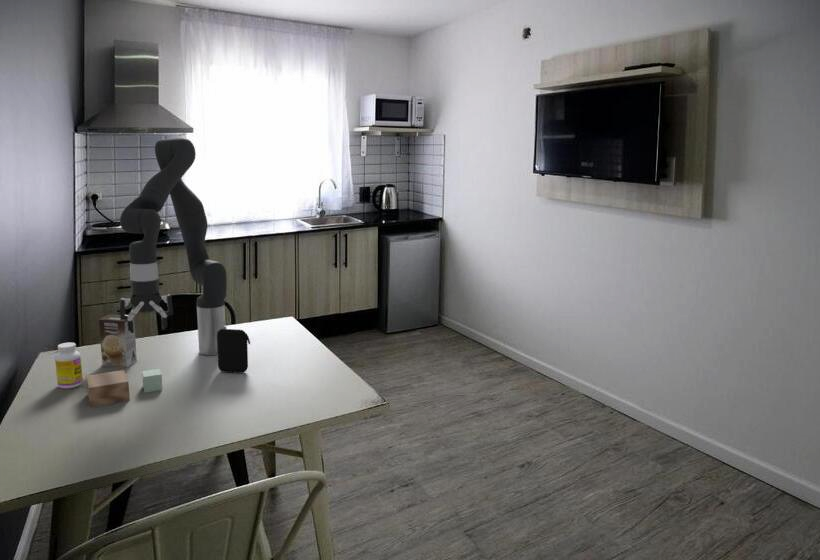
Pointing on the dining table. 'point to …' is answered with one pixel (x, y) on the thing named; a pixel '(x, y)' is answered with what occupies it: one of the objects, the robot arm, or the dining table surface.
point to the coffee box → (117, 341)
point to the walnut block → (107, 388)
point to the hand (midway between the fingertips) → (148, 330)
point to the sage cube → (152, 380)
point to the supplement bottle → (68, 366)
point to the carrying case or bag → (232, 350)
